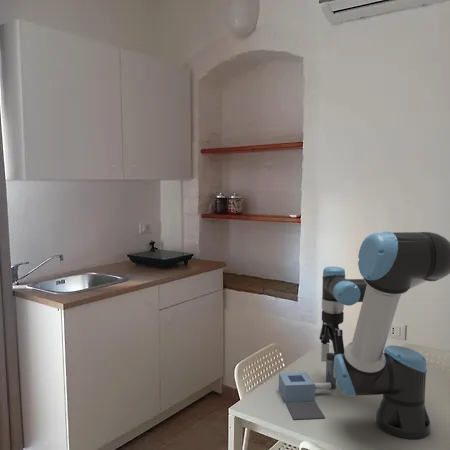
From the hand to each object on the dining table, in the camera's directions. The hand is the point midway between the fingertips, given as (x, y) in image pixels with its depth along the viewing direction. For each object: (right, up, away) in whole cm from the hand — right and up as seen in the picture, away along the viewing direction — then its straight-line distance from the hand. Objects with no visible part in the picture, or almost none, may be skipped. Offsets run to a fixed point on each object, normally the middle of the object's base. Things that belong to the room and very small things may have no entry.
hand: (331, 368), depth 161 cm
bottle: (0, -7, 0) cm, 7 cm away
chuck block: (-10, -7, -6) cm, 14 cm away
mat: (-12, -8, -17) cm, 23 cm away
